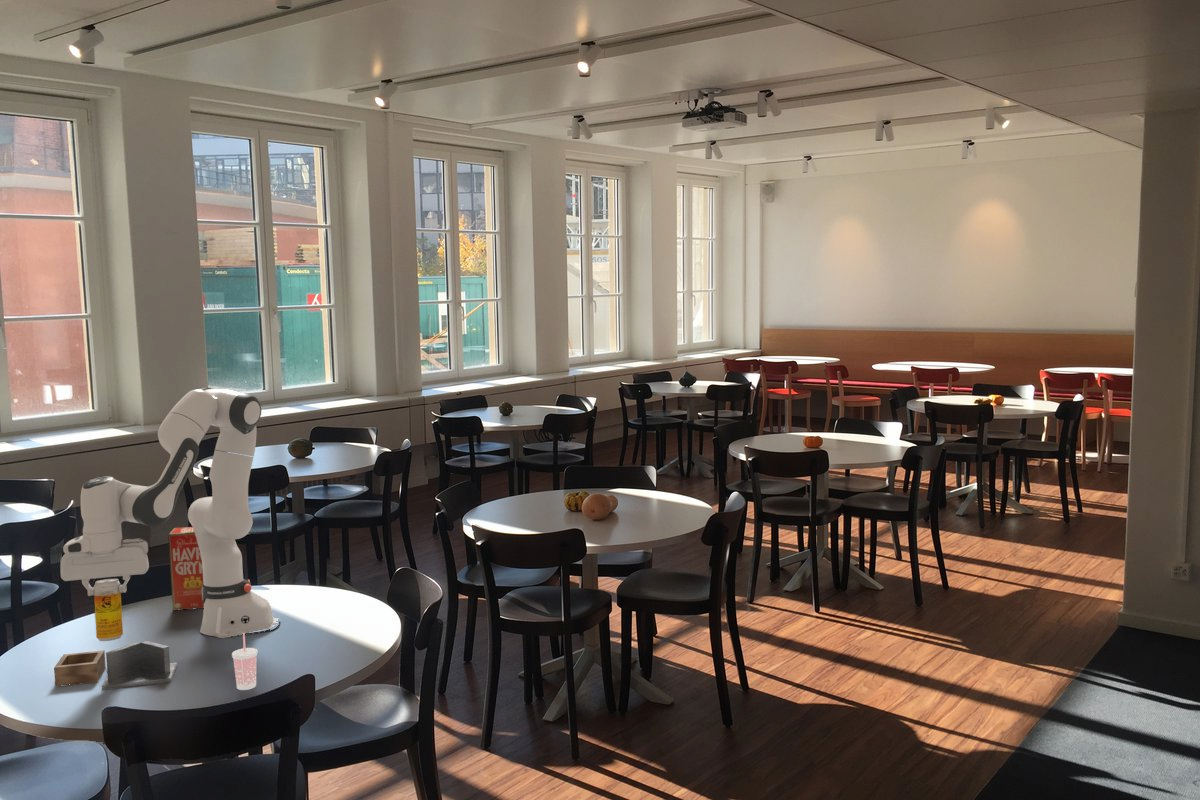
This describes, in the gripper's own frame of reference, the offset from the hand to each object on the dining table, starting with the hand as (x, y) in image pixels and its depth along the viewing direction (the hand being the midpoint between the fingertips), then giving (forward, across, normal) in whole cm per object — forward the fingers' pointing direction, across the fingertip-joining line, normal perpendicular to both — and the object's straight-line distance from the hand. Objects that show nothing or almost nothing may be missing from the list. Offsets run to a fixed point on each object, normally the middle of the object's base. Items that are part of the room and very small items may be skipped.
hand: (107, 593), depth 251 cm
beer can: (+12, 0, +1) cm, 12 cm away
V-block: (+23, -6, +1) cm, 24 cm away
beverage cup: (+23, -34, +16) cm, 44 cm away
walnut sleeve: (+23, +9, -3) cm, 24 cm away
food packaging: (+23, -12, -60) cm, 65 cm away
